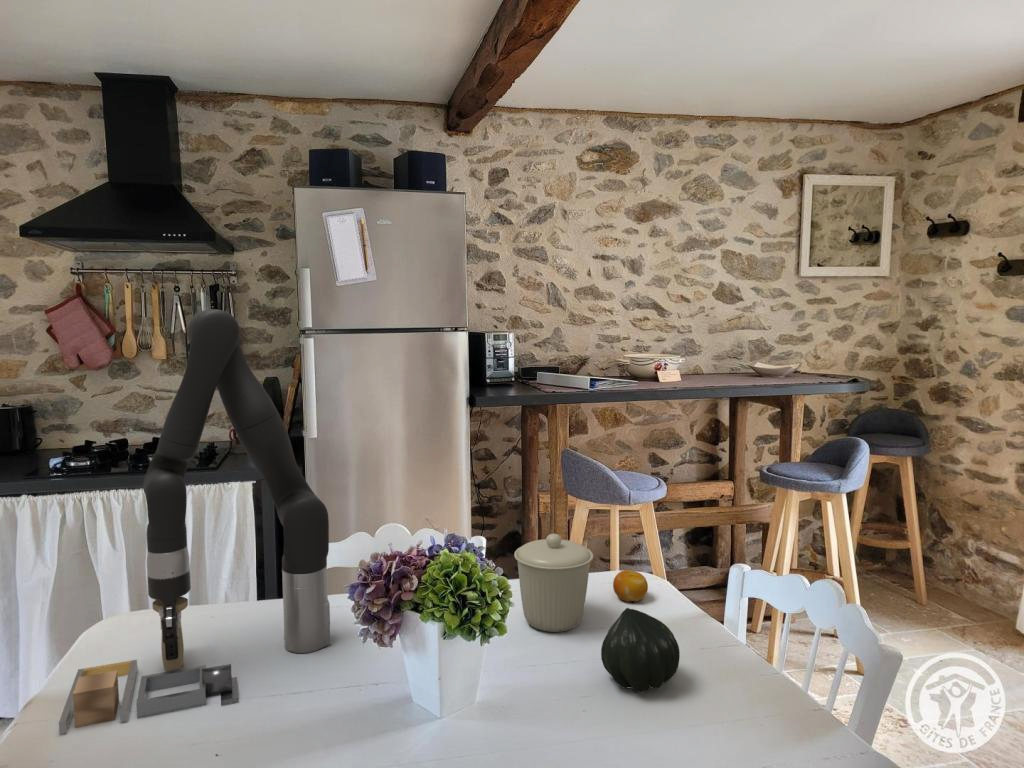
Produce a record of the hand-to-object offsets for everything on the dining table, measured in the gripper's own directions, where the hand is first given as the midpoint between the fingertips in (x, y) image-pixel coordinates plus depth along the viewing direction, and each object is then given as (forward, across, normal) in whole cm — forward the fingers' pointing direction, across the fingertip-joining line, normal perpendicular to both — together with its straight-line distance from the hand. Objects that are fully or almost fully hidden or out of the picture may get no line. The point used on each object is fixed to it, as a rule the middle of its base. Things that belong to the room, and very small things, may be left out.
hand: (172, 653), depth 141 cm
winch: (+4, -12, -3) cm, 13 cm away
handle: (+4, 0, 0) cm, 4 cm away
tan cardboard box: (+3, -13, +12) cm, 18 cm away
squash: (+4, -38, -84) cm, 92 cm away
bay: (+4, -8, +12) cm, 15 cm away
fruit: (+5, -3, -104) cm, 104 cm away
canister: (+4, -8, -80) cm, 81 cm away
